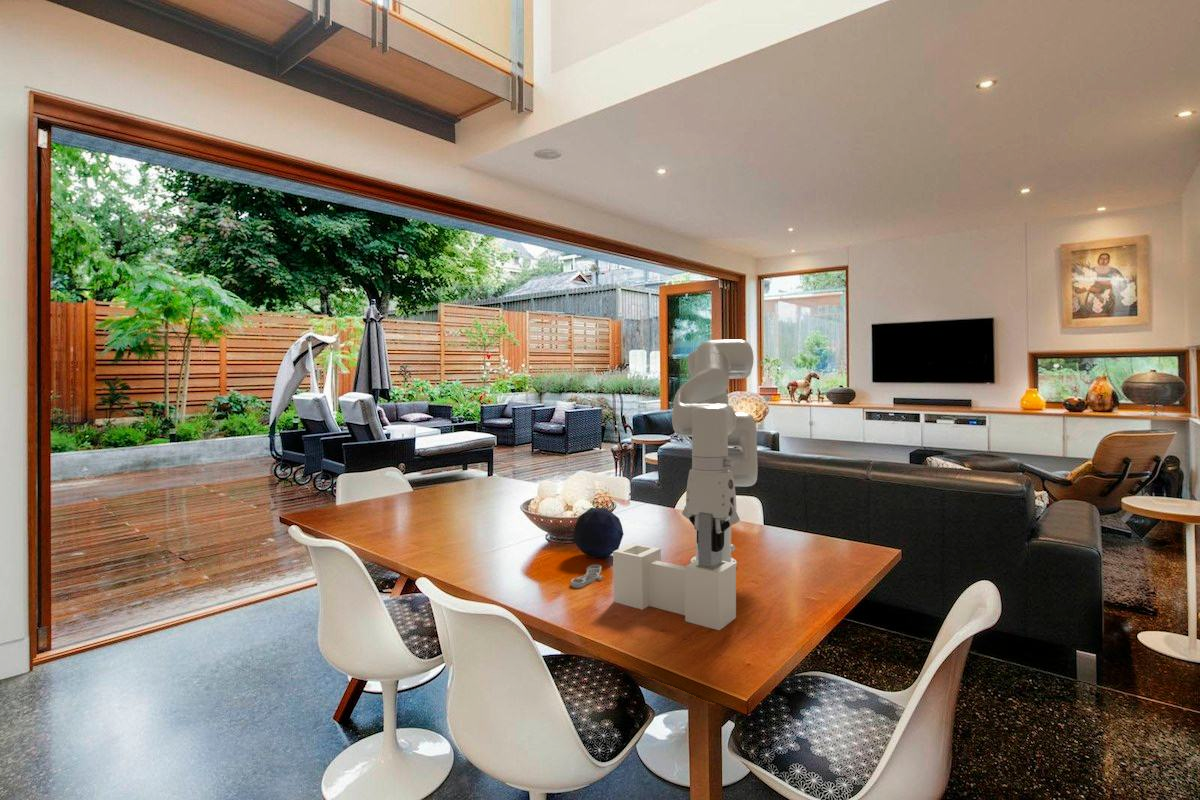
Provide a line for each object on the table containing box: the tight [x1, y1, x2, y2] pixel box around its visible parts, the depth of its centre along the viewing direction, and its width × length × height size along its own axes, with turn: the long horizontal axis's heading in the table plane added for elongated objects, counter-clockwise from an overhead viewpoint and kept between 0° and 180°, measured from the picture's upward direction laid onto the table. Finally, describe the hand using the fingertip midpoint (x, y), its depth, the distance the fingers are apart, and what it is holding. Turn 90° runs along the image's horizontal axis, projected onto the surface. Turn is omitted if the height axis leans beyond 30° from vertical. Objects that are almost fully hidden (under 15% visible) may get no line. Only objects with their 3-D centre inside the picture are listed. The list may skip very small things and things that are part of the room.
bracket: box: [570, 564, 603, 589], centre depth 158 cm, size 8×2×15 cm
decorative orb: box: [573, 507, 624, 559], centre depth 176 cm, size 14×15×15 cm
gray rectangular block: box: [698, 513, 722, 567], centre depth 129 cm, size 5×3×11 cm, turn 143°
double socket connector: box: [612, 543, 737, 631], centre depth 136 cm, size 8×27×12 cm, turn 52°
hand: (710, 548), depth 129 cm, fingers closed on gray rectangular block, 3 cm apart
